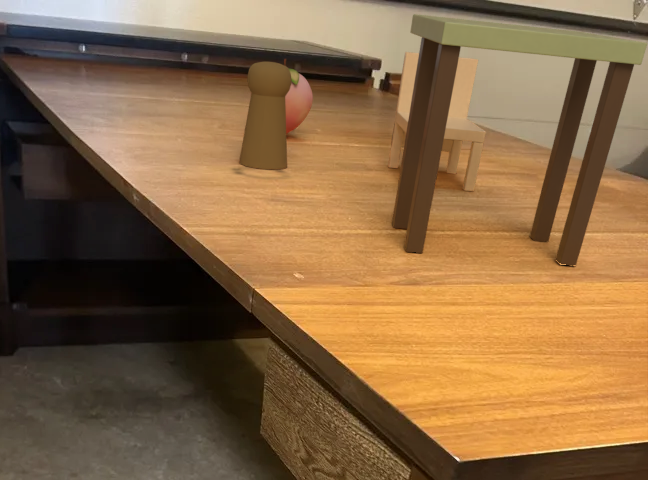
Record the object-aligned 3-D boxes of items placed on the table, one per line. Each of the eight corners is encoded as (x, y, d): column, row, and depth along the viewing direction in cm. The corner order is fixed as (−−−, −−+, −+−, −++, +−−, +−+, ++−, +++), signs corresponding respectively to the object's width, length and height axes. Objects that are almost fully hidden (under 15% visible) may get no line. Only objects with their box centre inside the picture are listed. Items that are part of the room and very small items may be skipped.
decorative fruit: (237, 130, 121) (241, 53, 115) (285, 131, 125) (292, 56, 119) (267, 143, 114) (273, 61, 109) (317, 143, 118) (325, 64, 112)
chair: (454, 172, 108) (476, 59, 101) (473, 191, 98) (500, 67, 91) (387, 165, 108) (405, 51, 101) (400, 184, 98) (420, 59, 91)
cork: (252, 157, 104) (259, 58, 98) (295, 165, 102) (304, 65, 96) (229, 163, 100) (235, 59, 94) (274, 171, 98) (282, 66, 92)
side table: (532, 225, 86) (581, 31, 76) (581, 269, 73) (648, 43, 63) (382, 211, 85) (413, 14, 75) (404, 254, 72) (444, 21, 62)
